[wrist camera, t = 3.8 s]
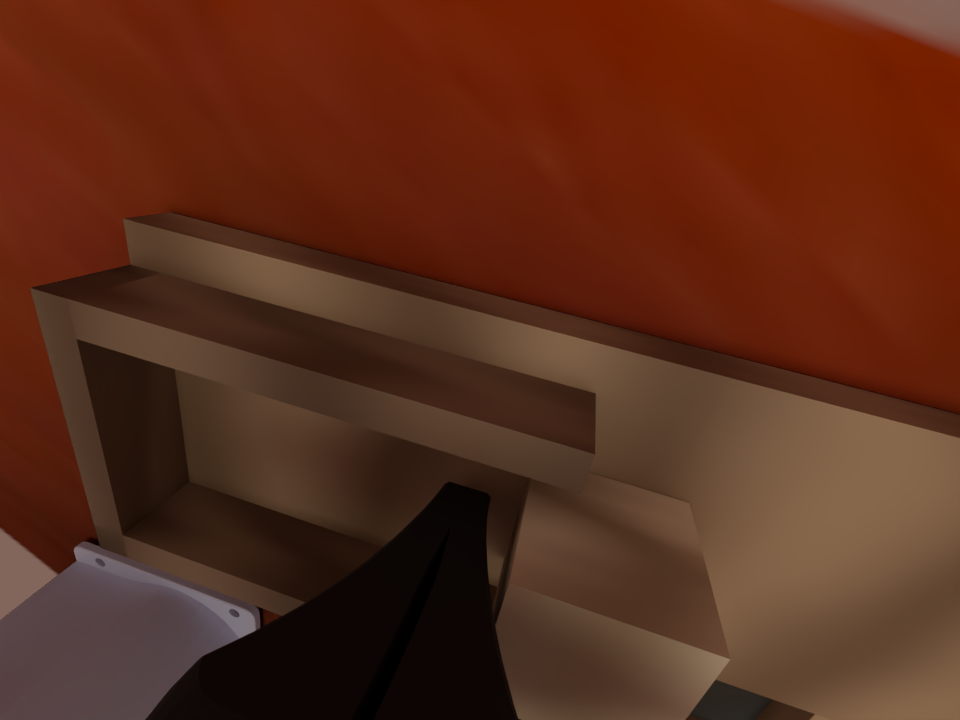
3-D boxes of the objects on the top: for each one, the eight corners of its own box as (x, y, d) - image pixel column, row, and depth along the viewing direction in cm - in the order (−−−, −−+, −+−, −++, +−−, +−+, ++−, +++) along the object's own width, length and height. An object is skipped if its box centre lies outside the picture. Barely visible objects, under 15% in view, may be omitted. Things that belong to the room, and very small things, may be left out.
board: (209, 545, 20) (130, 623, 16) (170, 212, 13) (30, 230, 10) (911, 798, 16) (992, 965, 13) (1306, 502, 10) (1670, 681, 6)
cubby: (168, 494, 16) (100, 547, 14) (130, 264, 13) (30, 288, 10) (517, 616, 15) (503, 698, 12) (595, 393, 11) (595, 454, 9)
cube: (503, 559, 14) (470, 700, 10) (535, 455, 12) (509, 583, 8) (635, 603, 13) (649, 767, 10) (689, 503, 11) (730, 659, 8)
